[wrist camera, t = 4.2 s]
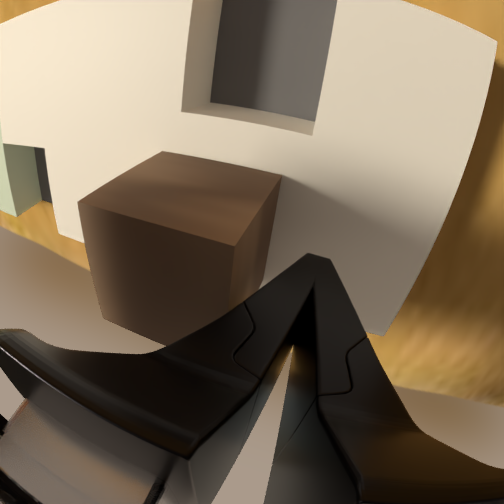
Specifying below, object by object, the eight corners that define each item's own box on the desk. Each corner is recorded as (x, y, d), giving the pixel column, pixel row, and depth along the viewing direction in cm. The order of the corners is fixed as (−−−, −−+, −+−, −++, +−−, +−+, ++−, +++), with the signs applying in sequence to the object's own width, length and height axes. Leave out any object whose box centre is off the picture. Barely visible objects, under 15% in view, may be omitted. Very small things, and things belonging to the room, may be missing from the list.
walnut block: (282, 175, 9) (235, 246, 6) (263, 279, 11) (222, 367, 8) (162, 151, 10) (77, 201, 7) (164, 249, 12) (103, 318, 9)
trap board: (468, 44, 7) (531, 39, 3) (382, 295, 13) (383, 377, 10) (-2, 34, 11) (-60, 49, 7) (9, 187, 17) (-37, 218, 14)
